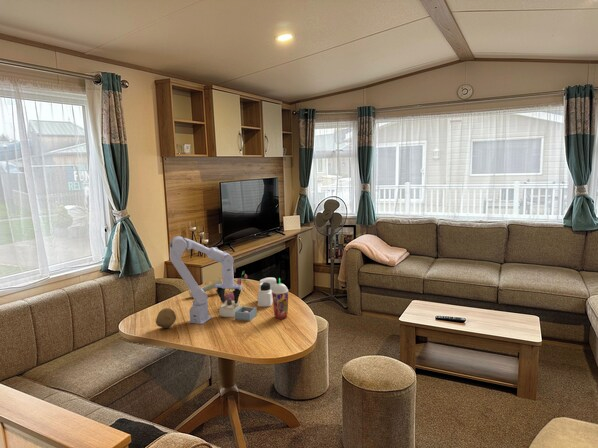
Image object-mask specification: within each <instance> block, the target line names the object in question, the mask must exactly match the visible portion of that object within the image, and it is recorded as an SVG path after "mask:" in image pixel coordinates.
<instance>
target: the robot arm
mask: <svg viewBox="0 0 598 448" xmlns="http://www.w3.org/2000/svg"><path fill="white" fill-rule="evenodd" d="M186 250H194V251H198V252H200V253H203V254H205V255H206V256H207V258H208V259H211V260H212V261H215V262H217V263H221V273H222V274H221V275H222V277H221V278H222V284H216V285H215V288H214V289H216V290H215V291H216V293H217V295H218V296H219V299H220V301H221V303H222V304H223V302H224V301H225V295H226V294H225V293H226V290H229V289H230V290H232V289H233V290H232V293H233V294H234V302H235V304H236V303H238V301H239V297H240V294H241V291H242V290H243V285H242V284H241V285H238V284H237V283H235V281H234V280H235V278H234V276H235V274H234V273H235V272H234V262H235V259H234V257H233V256H232V255H231V254H230V253H228V252H227V251H226V250H224V251H222V250H220V249H219V248H218V247H217V246H214V247H206V246H205V245H203V244H201V243H199V242H197V241H195V240H192V239H190V238H187V237H182V236H181V235H175V236H173V238H172V239H171V241H170V243H169V260H170V262H171V264H172V265H173V266H174V268H175V269H176V271H177V272H178V274H179V275H180V277H181V278H182V280H183V281H184V282H185V285H186V286H187V287H188V289H189V290H191V292H192V296H193V298H192V299H193V301H192V306H191V307H190V309H189V310H188V311H189V312H188V313H189V321H188V323H189V324H197V325H203V324H205V323H206V322H207V321H210V320H211V319H212V318H213V316H211V315H209V305H208V302H209V301H208V298H209V297H208V294H207V293H206V292H204V290H203V289H202V288H201V287H202V286H199V284H198V283H197V281H196V280H195V278H194V277H193V275H192V273H191V272H190V270H189V269H188V267H187V265H186V264H185V263H184V261H183V260H182V257H183V253H184V252H185V251H186Z"/></svg>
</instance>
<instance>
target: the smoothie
mask: <svg viewBox="0 0 598 448" xmlns="http://www.w3.org/2000/svg"><path fill="white" fill-rule="evenodd" d="M272 298H273V303H272V304H273V313H274V316H275V318H276V319H278V320H280V319H286V318H287V317H288V315H289V289H288V287H287V286H286V285H285V284H284V283H282V282H281V278H280V277H279V278H278V283H277V284H276V285H275V286H274V287H273V289H272Z"/></svg>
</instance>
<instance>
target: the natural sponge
mask: <svg viewBox="0 0 598 448" xmlns="http://www.w3.org/2000/svg"><path fill="white" fill-rule="evenodd" d="M176 321H177V315H176V313H175V311H174V310H173V309H172V308H169V307H167V308H166V307H165V308H162V309H160V311H159V312H158V313H157V316H156V318H155V324H156V326H158V327H159V328H162V329H165V328H168V329H169V327H170V328H171V327H172V326H173V325H174V323H175V322H176Z"/></svg>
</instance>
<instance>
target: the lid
mask: <svg viewBox="0 0 598 448" xmlns="http://www.w3.org/2000/svg"><path fill="white" fill-rule="evenodd" d="M237 305H240V301H239V300H238V303H236V304H235V302H234V301H232V300H231V298H227V300H226V301H225V302H224V303H222V304H221V305H220V307H219V309H229V310H234V308H235V307H236V306H237Z"/></svg>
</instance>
